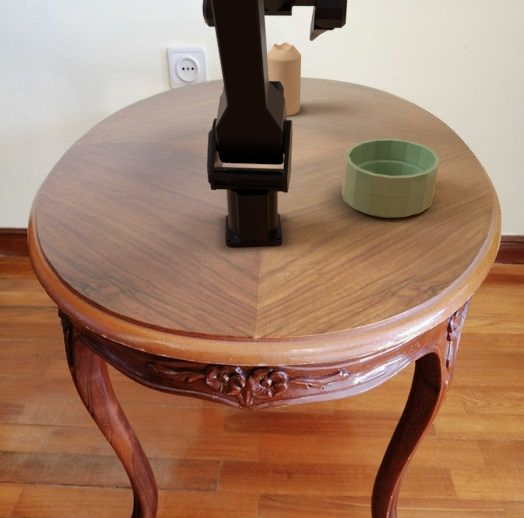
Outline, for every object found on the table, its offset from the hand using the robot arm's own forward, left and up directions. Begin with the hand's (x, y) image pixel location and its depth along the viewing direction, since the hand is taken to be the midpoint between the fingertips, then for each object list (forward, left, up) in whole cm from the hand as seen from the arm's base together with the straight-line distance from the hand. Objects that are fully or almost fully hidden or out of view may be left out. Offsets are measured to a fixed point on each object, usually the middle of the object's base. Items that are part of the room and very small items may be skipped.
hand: (279, 37), depth 86 cm
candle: (+6, -1, -13) cm, 14 cm away
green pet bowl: (-26, -12, -13) cm, 31 cm away
